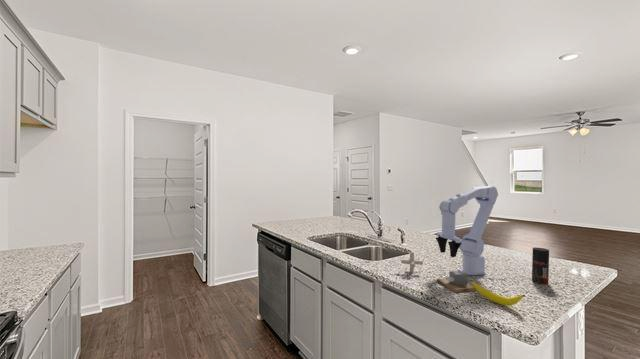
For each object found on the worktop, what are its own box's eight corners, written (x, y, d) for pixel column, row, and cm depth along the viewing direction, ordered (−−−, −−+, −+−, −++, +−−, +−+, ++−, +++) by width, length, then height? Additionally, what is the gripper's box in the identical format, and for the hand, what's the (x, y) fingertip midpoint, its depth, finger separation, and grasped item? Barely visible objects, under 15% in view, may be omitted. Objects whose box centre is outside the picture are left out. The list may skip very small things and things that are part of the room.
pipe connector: (424, 276, 134) (424, 255, 134) (401, 275, 136) (402, 254, 136) (420, 270, 144) (421, 250, 143) (400, 268, 146) (400, 249, 145)
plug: (463, 280, 126) (463, 270, 126) (469, 284, 122) (469, 273, 122) (444, 282, 124) (444, 271, 124) (450, 285, 120) (450, 275, 120)
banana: (472, 292, 116) (473, 277, 116) (526, 312, 100) (526, 294, 100) (468, 294, 115) (469, 278, 115) (522, 314, 99) (522, 296, 99)
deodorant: (541, 285, 125) (542, 251, 125) (528, 280, 131) (529, 247, 131) (551, 284, 127) (552, 250, 127) (538, 279, 133) (539, 247, 132)
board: (460, 279, 131) (460, 277, 131) (480, 290, 119) (480, 287, 119) (437, 281, 128) (437, 279, 128) (454, 292, 116) (455, 289, 116)
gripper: (431, 223, 141) (431, 250, 141) (451, 228, 126) (450, 259, 127) (444, 223, 142) (443, 250, 142) (464, 228, 128) (464, 258, 128)
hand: (447, 254), depth 135 cm, fingers open, 7 cm apart
